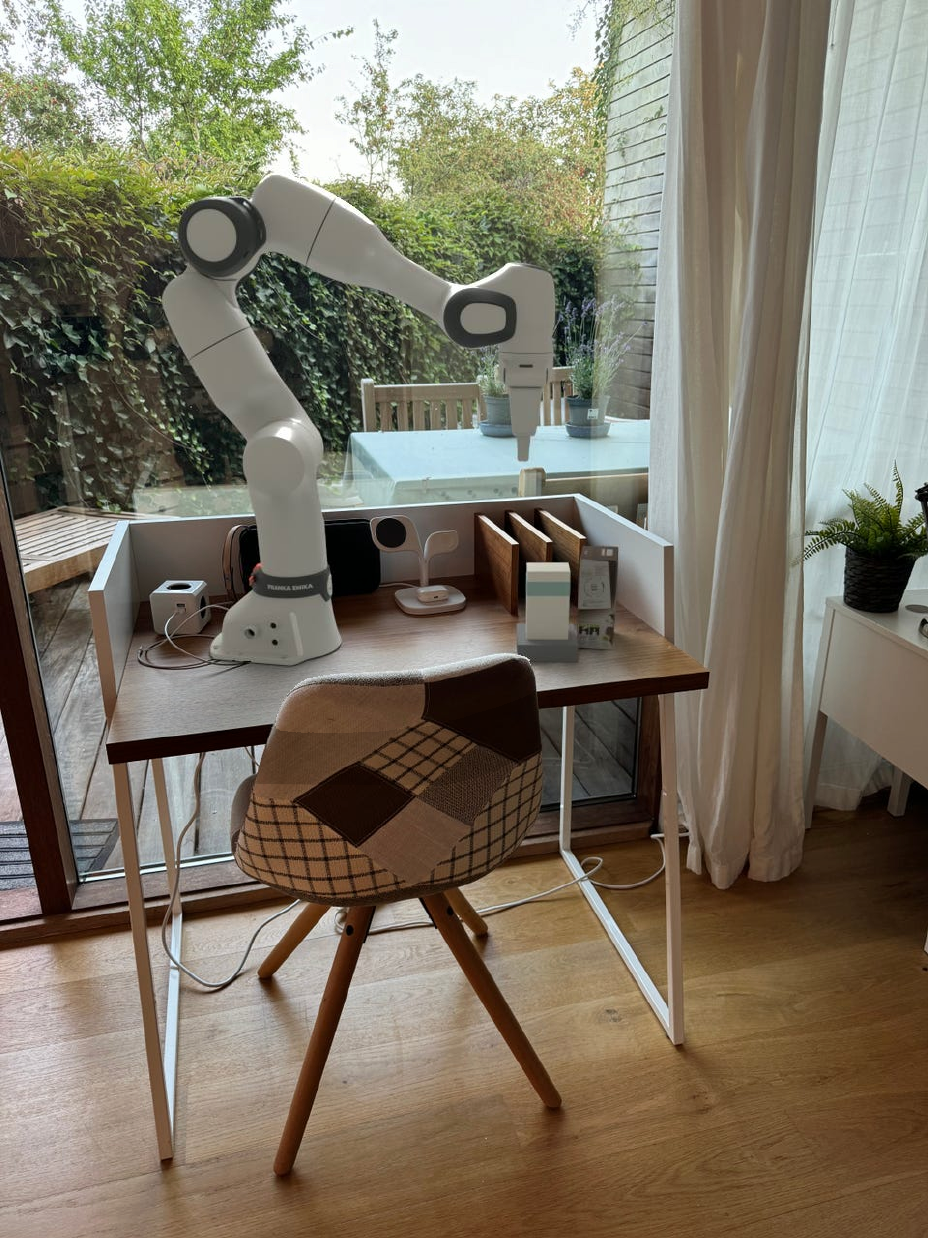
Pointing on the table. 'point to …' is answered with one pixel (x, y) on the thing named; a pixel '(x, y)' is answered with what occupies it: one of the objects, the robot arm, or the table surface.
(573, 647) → the podium
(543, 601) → the carton
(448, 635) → the table surface
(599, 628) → the coffee box
